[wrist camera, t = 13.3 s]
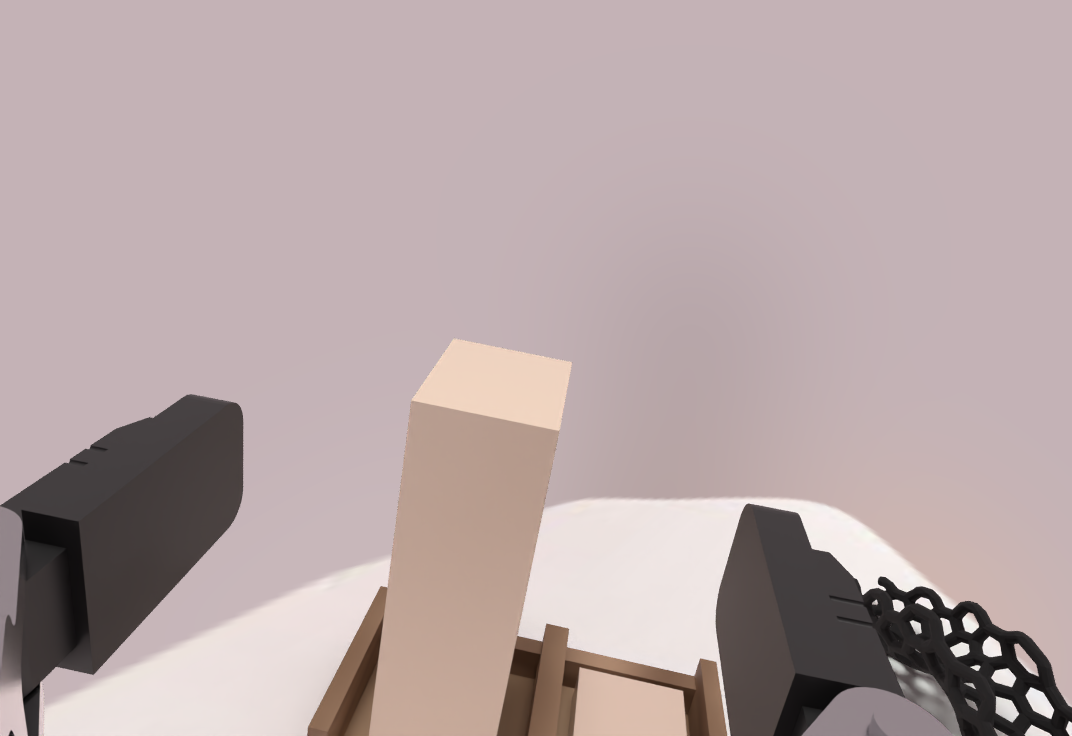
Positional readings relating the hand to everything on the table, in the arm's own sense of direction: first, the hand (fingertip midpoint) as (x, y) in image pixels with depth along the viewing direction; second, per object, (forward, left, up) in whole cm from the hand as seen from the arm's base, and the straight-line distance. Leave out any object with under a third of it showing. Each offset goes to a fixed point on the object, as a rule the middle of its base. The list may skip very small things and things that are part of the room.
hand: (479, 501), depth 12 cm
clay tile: (-6, -13, -18) cm, 23 cm away
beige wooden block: (+1, -13, -18) cm, 22 cm away
